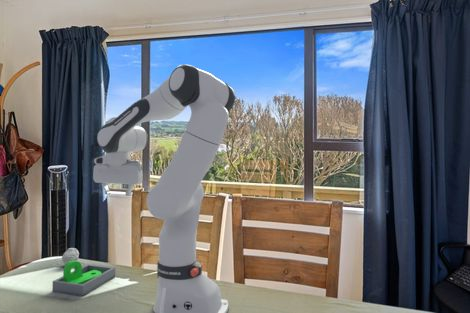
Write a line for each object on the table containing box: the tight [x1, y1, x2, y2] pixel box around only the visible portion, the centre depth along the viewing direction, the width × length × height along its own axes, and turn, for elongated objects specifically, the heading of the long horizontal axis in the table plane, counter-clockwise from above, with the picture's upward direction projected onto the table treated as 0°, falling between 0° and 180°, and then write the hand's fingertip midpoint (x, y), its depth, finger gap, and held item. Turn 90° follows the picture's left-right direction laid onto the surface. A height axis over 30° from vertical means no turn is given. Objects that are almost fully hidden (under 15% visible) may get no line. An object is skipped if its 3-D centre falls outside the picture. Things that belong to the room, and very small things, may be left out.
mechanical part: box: [62, 260, 102, 284], centre depth 119 cm, size 12×6×8 cm, turn 149°
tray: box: [52, 263, 116, 297], centre depth 120 cm, size 12×17×4 cm
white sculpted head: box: [61, 247, 80, 266], centre depth 137 cm, size 6×7×7 cm
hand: (117, 194), depth 134 cm, fingers open, 8 cm apart
